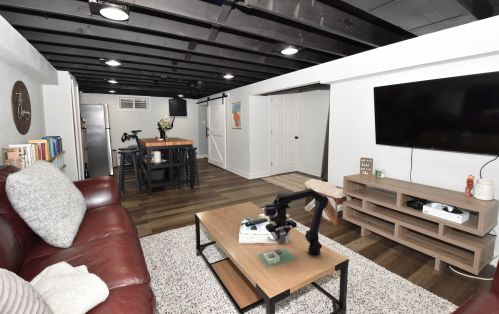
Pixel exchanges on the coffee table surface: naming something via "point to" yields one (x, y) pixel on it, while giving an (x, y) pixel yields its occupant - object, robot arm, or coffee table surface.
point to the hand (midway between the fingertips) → (281, 239)
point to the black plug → (282, 237)
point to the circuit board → (276, 257)
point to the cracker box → (280, 228)
